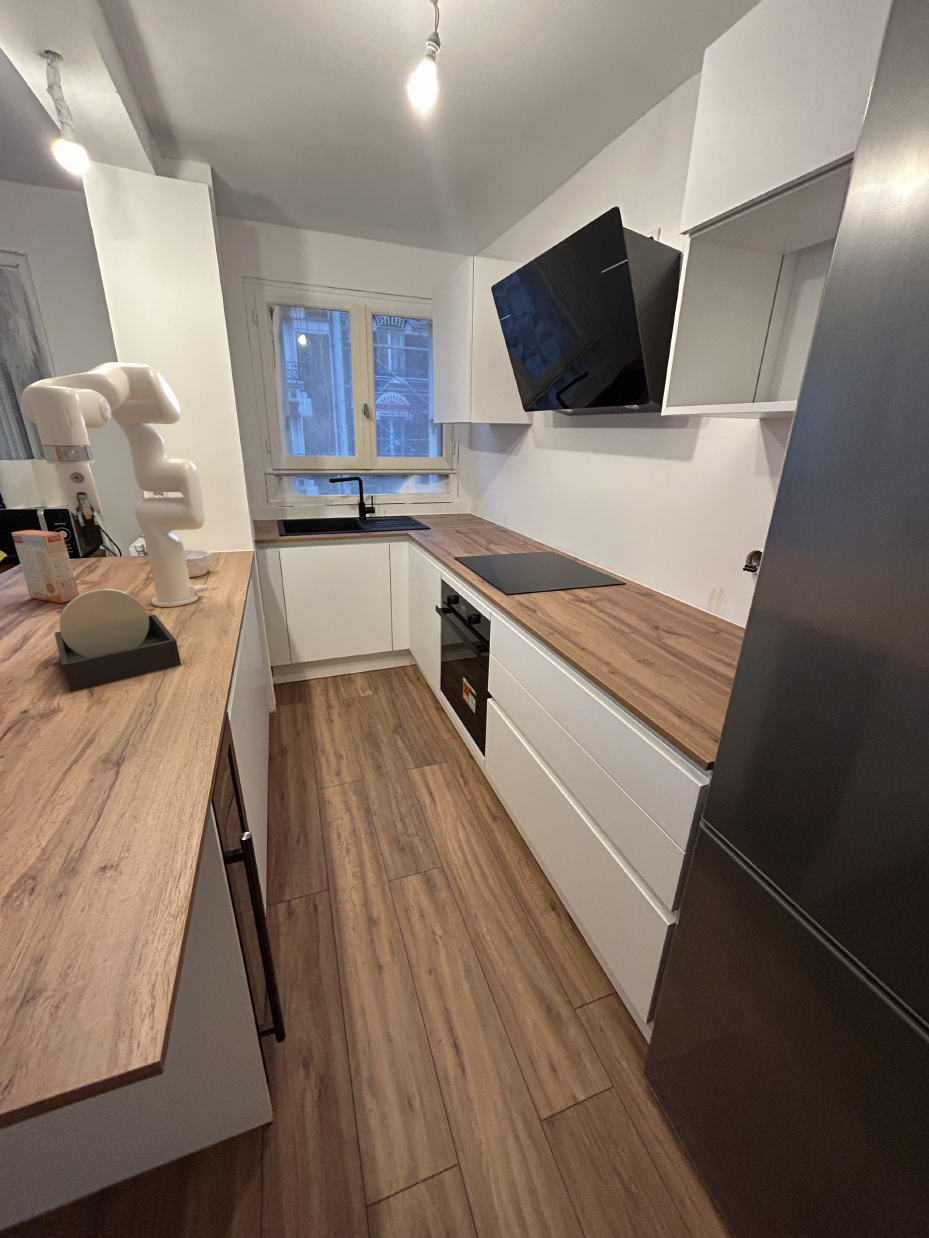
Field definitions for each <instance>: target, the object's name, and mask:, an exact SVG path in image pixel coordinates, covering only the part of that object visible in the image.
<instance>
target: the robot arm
mask: <svg viewBox="0 0 929 1238" xmlns="http://www.w3.org/2000/svg"><path fill="white" fill-rule="evenodd" d="M20 406H21V409H22V412H23V413H24V415H25V416H26V417H27V419H28V420H29V421H31V423H33V424H35V425H36V428H37V432H38V435H39V439H40V442H41V446H42V450H43V453H44V454H43V455H44V457H45V461H46V464H48V465H49V464H50V465H55V468H56V473H57V476H58V479H59V483H60V486H61V490H62V493H63V496H64V498H65V501H66V504H67V506H68V509H69V510H70V512H71V514H73V515H74V522H75V527H76V530H77V535H78V537H79V538H80V539H82V541H83V545H84V546H85V547H93V546H103V545H104V544H105V541H104V538H103V534H102V529H101V526H100V524H99V521H98V518H97V516H96V513H97V514H98V515H102V513H103V512H104V511H103V508H102V504H101V501H100V498H99V494H98V490H97V487H96V486H97V485H96V482H95V479H94V476H93V472H92V470H91V466H90V464H95V460H94V459H95V458H94V454H93V451H92V445H91V442H90V439H89V438H90V437H89V434H88V430H87V429H100V428H104V427H105V426H107V425H108V424H109V423H110V421H111V419H113V420H114V421H115V422H116V424H117V425H118V426H119V428H120V429H121V430H122V432H123V433H124V435H125V437H126V439H127V440H128V443H129V448H130V454H131V461H132V465H133V471H134V477H135V481H136V484H137V486H138V488H139V489H141V490H142V491H144V492H148V493H180V494H181V496H171V497H170V496H152V497H145V498H142V499H141V498H140V500H138V501H137V502H136V504H135V506H134V514H135V517H136V520H137V524H138V525H139V528H140V530H141V533H142V536H143V540H144V543H145V549H146V552H147V557H148V561H149V566H150V571H151V576H152V580H153V585H154V586H153V587H154V590H155V595H156V596H155V597H153V598H152V599H151V604H152V605H153V606H155V607H162V608H171V607H180V606H184V605H185V606H186V605H188V604H191V603H195V602H196V601H198V600H199V594H198V593H201V592H209V587H208V584H203V585H202V584H196V585H193V584H192V583H191V580H190V577H189V574H188V569H187V563H186V558H185V553H184V550H185V547H184V544H183V542H182V541H181V539H180V537H178V535H176V533H174V532H173V531H192V530H199V529H202V527H204V524H205V510H204V509H205V508H204V505H203V496H202V489H201V483H200V476H199V472H198V469H197V467H196V465H195V464H194V463H193V462H192V461H191V460H190V459H187V458H181V457H180V458H179V457H174V458H173V457H171V458H170V457H168V455H167V451H166V445H165V444H166V443H165V441H164V438H163V437H162V435H161V434H160V433H159V432H158V431H157V430H156V429H155V428H154V427H153V426H152V425H173V424H176V423H178V422H179V421H180V418H181V407H180V402H179V401H178V399H177V396H176V395H175V393H174V391H173V390H172V388H171V387H170V385H169V384H168V382H167V381H166V379H165V377H164V376H163V375H162V374H161V372H159V371H158V370H157V369H156V368H155V367H153V366H152V365H150V364H147V363H134V362H133V363H132V362H117V361H116V362H115V361H113V362H112V361H111V362H110V361H109V362H103V363H100V364H98V365H97V366H95V367H93V368H91V369H89V370H87V371H86V372H80V373H79V372H78V373H73V374H72V373H71V374H68V375H63V376H55V377H49V378H44V379H41V380H38V381H35V382H33V383H30V384H29V385H27V386H26V387H24V389H23V391H22V393H21V396H20ZM151 424H152V425H151Z"/></svg>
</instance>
